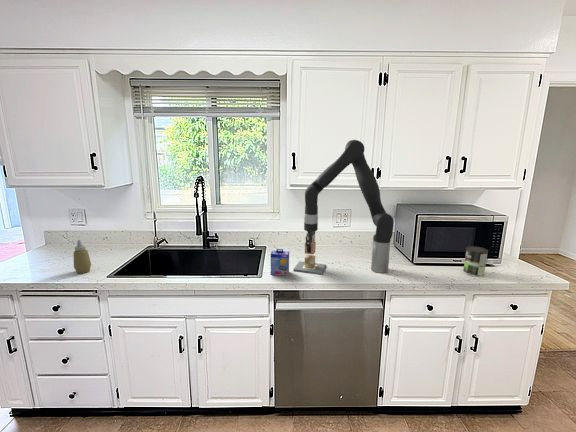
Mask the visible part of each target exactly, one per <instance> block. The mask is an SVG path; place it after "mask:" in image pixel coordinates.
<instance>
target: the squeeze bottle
mask: <svg viewBox="0 0 576 432" xmlns="http://www.w3.org/2000/svg"><path fill="white" fill-rule="evenodd" d="M91 268H92V263H91V258H90V253H89V250H88V249H86V246H85V245H83V244H82V240H80V239H78V240H77V244H76V246H75V247H74V251H73V269H74V270H75V272H76V273H77V274H79V275H80V274H86V273H88V272H90V271H91Z"/></svg>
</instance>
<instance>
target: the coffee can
mask: <svg viewBox="0 0 576 432" xmlns="http://www.w3.org/2000/svg"><path fill="white" fill-rule="evenodd" d="M488 253H489V249H488V248H487V249H486V248H485V247H482V246H481V247H480V246H477V245H475V246H474V245H469V246H466V248H465V257H464V265H463V271H462V272H463V274H465V275H468V276H471V277H475V278H476V277H477V278H478V277H479V278H482V277H484V276H485V272H486V271H485V270H486V265H487V258H488Z"/></svg>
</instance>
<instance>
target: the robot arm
mask: <svg viewBox="0 0 576 432" xmlns="http://www.w3.org/2000/svg"><path fill="white" fill-rule="evenodd" d="M350 165H352V167H353V170H354V173H355V176H356V180H357V183H358V186H359V189H360V191H361V193H362V195H363V199H364V200H365V202H366V205H367V207H368V210H369V211H370V215H371V216H370V217H371V219H372V223H373V225H374V226H375V228H376V229H375V233H374V234H373V239H372V249H371V250H372V252H371V266H370V270H371V271H372V272H374V273H377V272H378V273H379V274H385V273H389V266H390V265H389V264H390V250H391V240H392V238H393V233H394V232H393V231H394V223H395V221H394V220H395V219H394V217H393V216H392V215H391V214H389V213H387V212H386V210H385V208H384V206H383V204H382V200H381V191H380V190H381V189H380V186H379V183H378V181H377V179H376V176H375V174H374V173H373V171H372V169H371V167H370V166H369V165H368V161H367V160H366V157H365V146H364V143H363V142H361V141H360V140H358V139H351V140H348V142H347V143H346V145H345V147H344V151H343V152H342V153H341V154H340V156H339V157H338V158H337V159H336V160H335V161H334V162H333V163H331V164H330V165H329V166H328V167H326V168H325V169H324V170H323V171H322V172H321V173H320V174H319V175H318V176H317V178H316V179H315V180H313V181H312V182H311V183H310V184H309V185H308V186H307V187H306V189H305V192H304V203H305V206H304V217H303V223H304V224H303V229H304V231H306V232H307V233H306V236H305V243H306V246H307V253H311V246H312V242H316V232H317V231H318V230H319V227H318V226H319V216H318V215H319V214H318V213H319V212H318V211H319V207H318V206H319V205H318V198H319V197H318V196H319V194H320V193H321V192H322V191H323V190H324V189H325V188H327V187H328V186H329V185H330V184H331V183H332V182H334V180H335V179H336V178H337V177H338V176H339V175H340V174H341V173H342V172H343V171H344V170H345V169H346V168H347V167H349V166H350ZM308 243H309V244H308Z"/></svg>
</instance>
